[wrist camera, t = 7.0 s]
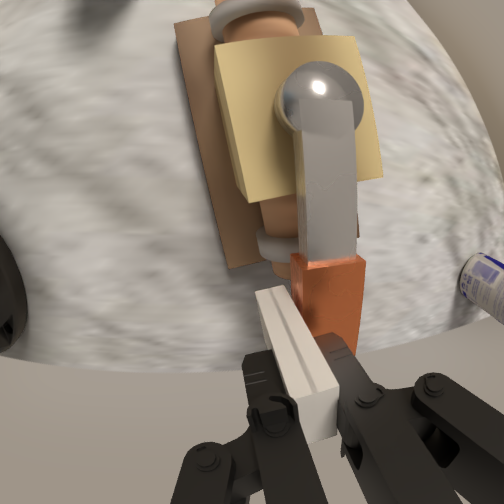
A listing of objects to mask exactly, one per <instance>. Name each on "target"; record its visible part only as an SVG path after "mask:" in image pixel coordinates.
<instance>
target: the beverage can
mask: <svg viewBox="0 0 504 504" xmlns="http://www.w3.org/2000/svg"><path fill="white" fill-rule="evenodd" d="M460 290H461V293H462V295H463V296H465V297H466V298H468V299H469V300H471V301H472V302H473V303H475V304H476V305H478V306H479V307H480V308H482V309H483V310H484V311H486V312H487V313H488V314H490V315H491V316H492V317H494V318H495V319H496V320H498V321H499V322H500V323H502V324H503V325H504V264H503V263H501V262H499V261H497V260H495V259H493V258H491V257H489V256H487V255H485V254H483V253H477V254H475V255H474V256H472V257H471V258H470V259H469V261H468V262H467V263H466V265H465V267H464V269H463V272H462V274H461V279H460Z"/></svg>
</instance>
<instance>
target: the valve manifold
mask: <svg viewBox="0 0 504 504" xmlns="http://www.w3.org/2000/svg"><path fill="white" fill-rule="evenodd" d="M215 5H216V7H215V8H214V9H213V10H212V11H211V13H210V15H209V16H207V17H201V18H196V19H192V20H187V21H183V22H179V23H174V28H175V33H176V39H177V44H178V49H179V54H180V59H181V64H182V69H183V74H184V79H185V84H186V89H187V94H188V99H189V103H190V108H191V113H192V117H193V122H194V126H195V131H196V136H197V140H198V144H199V149H200V153H201V158H202V162H203V166H204V171H205V175H206V179H207V184H208V188H209V192H210V196H211V200H212V205H213V209H214V213H215V217H216V221H217V225H218V229H219V233H220V237H221V241H222V245H223V249H224V253H225V257H226V261H227V265H228V269H232V268H236V267H240V266H244V265H249V264H253V263H257V262H261V261H265V260H270V261H271V262H272V267H273V272H274V273H275V274H276V275H277V276H278V277H281V278H283V279H288V280H291V264H290V254H292V253H299V238H298V213H297V192H296V175H295V159H294V145H293V136H291V135H290V134H288V133H287V132H286V131H285V130H284V129H283V128H282V126H281V125H280V123H279V122H278V120H277V118H276V115H275V111H274V97H275V94H276V91H277V89H278V88H279V86H280V85H281V84H282V82H283V81H284V80H285V79H286V78H287V77H288V76H289V75H290V74H291V73H292V72H293V71H294V70H295V69H297V68H298V67H299V66H301V65H303V64H305V63H308V62H313V61H325V62H330V63H333V64H335V65H338V66H340V67H341V68H343V69H344V70H346V71H347V72H348V73H349V74H350V75H351V76H352V77H353V78H354V79H355V81H356V82H357V84H358V85H359V87H360V89H361V92H362V95H363V99H364V113H363V117H362V120H361V122H360V124H359V126H358V127H357V129H356V130H355V144H356V165H357V182H358V181H364V180H370V179H376V178H382V177H383V170H382V162H381V155H380V148H379V141H378V135H377V129H376V124H375V118H374V113H373V108H372V103H371V98H370V94H369V89H368V85H367V81H366V77H365V73H364V69H363V65H362V61H361V58H360V54H359V51H358V47H357V44H356V41H355V37H354V36H331V35H323V34H322V31H321V28H320V25H319V22H318V19H317V16H316V13H315V10H314V8H301V5H300V3H299V0H215ZM359 237H360V236H359V224H358V213H357V238H359Z"/></svg>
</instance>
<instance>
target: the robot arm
mask: <svg viewBox="0 0 504 504" xmlns="http://www.w3.org/2000/svg"><path fill="white" fill-rule="evenodd" d="M255 295H256V300H257V305H258V310H259V315H260V320H261V325H262V330H263V335H264V339H265V343H266V346H267V349H268V350H265V351H261V352H257V353H252V354H248V355H245V358H244V360H243V363H242V370H243V376H244V381H245V387H246V393H247V398H248V404H249V407H248V409H247V419H248V422H249V425H250V426H249V427H248V429H247V431H246V432H245V433H244V434H243V435H242V436H240V437H238V438H237V439H235V440H233V441H231V442H228V443H227V444H224V445H221V444H219V443H215V442H205V443H201V444H198V445H196V446H194V447H193V448H191V449H190V450H189V451H188V452H187V454H186V456H185V457H184V460H183V463H182V467H181V470H180V473H179V476H178V480H177V483H176V486H175V490H174V493H173V496H172V499H171V503H170V504H249V500H250V495H252V494H254V493H255V492H258V491H260V490H262V489H263V491H264V495H265V500H266V504H328V502H327V499H326V496H325V493H324V490H323V488H322V485H321V482H320V479H319V476H318V473H317V470H316V467H315V465H314V462H313V459H312V456H311V453H310V450H309V448H308V444H310V443H314V442H317V441H320V440H324V439H327V438H330V437H333V436H336V435H337V428H338V430H339V432H340V434H341V436H342V444H341V457H344V455H346V457H347V459H348V461H349V463H350V465H351V468H352V470H353V472H354V474H355V477H356V479H357V481H358V483H359V485H360V487H361V490H362V492H363V494H364V496H365V499H366V501H367V503H368V504H463V503H462V502H461V500H460V498H459V497H458V495H457V494H456V492H455V491H454V490H456V491H457V492H458V493H459V494H460V495H461V496H463V497H464V498H465V499H466V500H467V501H469V502H470V503H471V504H504V415H503V414H502V413H500V412H499V411H497V410H496V409H494V408H493V407H491V406H490V405H489V404H487V403H486V402H484V401H483V400H481V399H480V398H478V397H477V396H475V395H474V394H472V393H471V392H469V391H468V390H466V389H465V388H463V387H462V386H460V385H459V384H457V383H456V382H454V381H453V380H451V379H450V378H449V377H447V376H445V375H443V374H441V373H427V374H425V375H423V376H421V377H419V379H418V380H417V381H416V382H415V386H414V387H408V388H402V389H392V390H391V389H385V388H384V387H383V386H381V385H379V384H377V383H373V382H372V381H371V379H370V378H369V376H368V375H367V373H366V372H365V370H364V369H363V367H362V366H361V365H360V363H359V362H358V360H357V359H356V357H355V356H354V355H353V353H352V351H351V350H350V348H348V345H347V344H346V343H345V341H344V340H343V338H342V337H340V336H338V335H337V334H335V333H333V332H330V333H326V334H323V335H319V336H316V337H313V336H312V335H311V333H310V331H309V329H308V327H307V326H306V324H305V322H304V320H303V318H302V317H301V315H300V313H299V311H298V309H297V308H296V306H295V304H294V302H293V300H292V299H291V297H290V295H289V293H288V291H287V290H286V288H285V286H284V285H281V286H276V287H272V288H268V289H263V290H259V291H255ZM26 319H27V303H26V296H25V291H24V287H23V283H22V279H21V276H20V273H19V270H18V268H17V265H16V263H15V261H14V258H13V256H12V254H11V252H10V250H9V248H8V247H7V245H6V243H5V241H4V240H3V238H2V237H1V236H0V353H2V352H4V351H6V350H7V349H9V348H10V347H11V346H12V345H13V344H14V343H15V341H16V340H17V339H18V338H19V337H20V335H21V334H22V332H23V330H24V328H25V325H26Z"/></svg>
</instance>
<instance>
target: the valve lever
mask: <svg viewBox="0 0 504 504" xmlns="http://www.w3.org/2000/svg"><path fill="white" fill-rule="evenodd" d="M274 111H275V115H276V118H277V120H278V122H279V123H280V125H281V126H282V128H283V129H284V130H285V131H286V132H287V133H288V134H290V135H291V136H293V145H294V159H295V175H296V192H297V213H298V238H299V253H292V254H290V264H291V299H292V300H293V302H294V304H295V306H296V308H297V309H298V311H299V313H300V315H301V317H302V318H303V320H304V322H305V324H306V326H307V327H308V329H309V331H310V333H311V335H312V336H313V337H316V336H319V335H323V334H326V333H330V332H333V333H335V334H337V335H338V336H340V337H342V338H343V340H344V341H345V343H346V344H347V345H348V348H350V350H351V351H352V353H353V355H354V356H355V354H356V347H357V341H358V334H359V326H360V319H361V310H362V301H363V291H364V280H365V267H366V261H365V260H364V259H363V258H361V257H360V256H359V255H357V254H356V244H357V165H356V144H355V130H356V129H357V127H358V126H359V124H360V122H361V120H362V117H363V113H364V99H363V95H362V92H361V89H360V87H359V85H358V84H357V82H356V81H355V79H354V78H353V77H352V76H351V75H350V74H349V73H348V72H347V71H346V70H344V69H343V68H341V67H340V66H338V65H335V64H333V63H330V62H325V61H313V62H308V63H305V64H303V65H301V66H299V67H298V68H297V69H295V70H294V71H293V72H292V73H291V74H290V75H289V76H288V77H287V78H286V79H285V80H284V81H283V82H282V84H281V85H280V86H279V88H278V89H277V91H276V94H275V97H274Z"/></svg>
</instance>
